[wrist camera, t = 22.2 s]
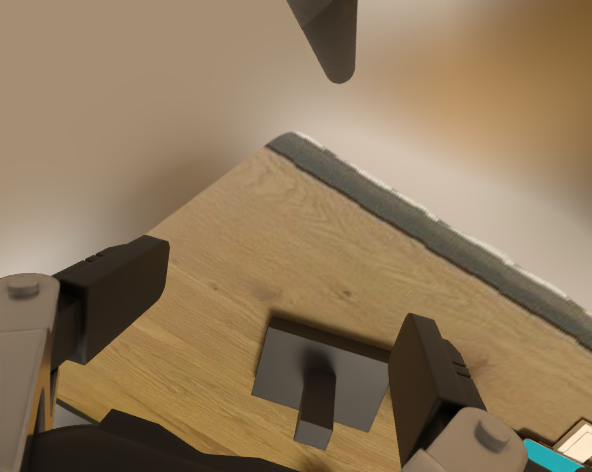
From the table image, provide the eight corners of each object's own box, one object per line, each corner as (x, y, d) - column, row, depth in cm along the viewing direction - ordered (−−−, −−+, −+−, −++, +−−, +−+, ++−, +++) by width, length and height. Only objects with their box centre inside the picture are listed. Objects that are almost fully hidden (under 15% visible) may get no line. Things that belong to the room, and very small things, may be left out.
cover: (256, 381, 48) (230, 448, 38) (273, 315, 44) (249, 370, 34) (367, 417, 47) (371, 496, 37) (394, 352, 43) (406, 421, 33)
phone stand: (668, 462, 42) (681, 475, 40) (598, 517, 46) (606, 531, 44) (521, 388, 42) (527, 398, 40) (463, 449, 46) (467, 461, 44)
